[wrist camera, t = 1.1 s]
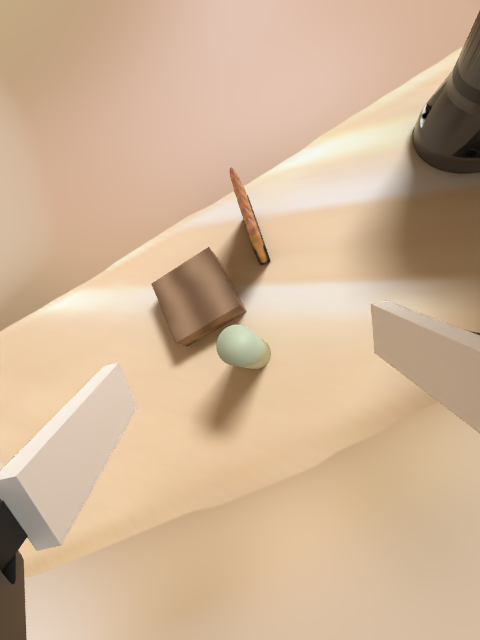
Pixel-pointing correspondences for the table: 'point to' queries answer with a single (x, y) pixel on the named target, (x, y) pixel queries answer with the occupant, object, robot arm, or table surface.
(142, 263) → the table surface
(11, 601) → the robot arm
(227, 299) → the walnut plinth
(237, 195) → the ammunition clip
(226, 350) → the sage cylinder
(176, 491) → the table surface
